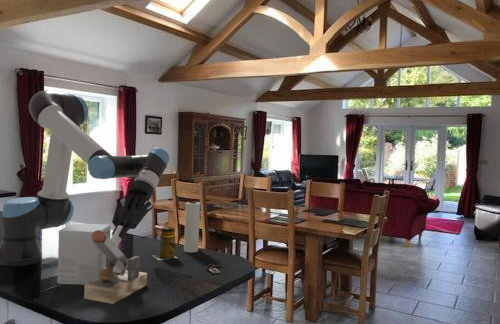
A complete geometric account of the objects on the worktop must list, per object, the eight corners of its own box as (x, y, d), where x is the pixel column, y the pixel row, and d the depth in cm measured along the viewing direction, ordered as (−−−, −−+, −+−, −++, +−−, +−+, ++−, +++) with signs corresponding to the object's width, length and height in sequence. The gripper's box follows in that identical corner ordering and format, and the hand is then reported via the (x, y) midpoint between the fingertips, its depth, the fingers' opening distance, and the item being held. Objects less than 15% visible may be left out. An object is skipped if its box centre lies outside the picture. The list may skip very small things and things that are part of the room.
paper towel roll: (186, 253, 181) (188, 203, 180) (181, 250, 187) (183, 201, 186) (202, 252, 185) (204, 203, 184) (197, 248, 190) (199, 201, 189)
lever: (118, 258, 137) (89, 226, 123) (134, 261, 135) (107, 228, 121) (110, 274, 134) (80, 242, 120) (127, 276, 132) (98, 245, 118)
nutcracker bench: (120, 280, 143) (121, 249, 142) (146, 285, 140) (147, 253, 139) (84, 298, 126) (85, 263, 125) (112, 303, 123) (114, 267, 122)
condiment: (178, 258, 174) (179, 229, 173) (158, 260, 169) (159, 230, 168) (171, 254, 180) (172, 225, 179) (151, 256, 175) (152, 227, 175)
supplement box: (110, 273, 150) (111, 224, 150) (98, 285, 137) (99, 231, 137) (72, 271, 150) (73, 222, 149) (56, 284, 137) (57, 230, 136)
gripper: (123, 177, 143) (88, 236, 128) (157, 180, 139) (126, 241, 124) (131, 191, 149) (99, 249, 134) (164, 194, 145) (135, 254, 130)
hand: (112, 245), depth 129 cm, fingers closed
